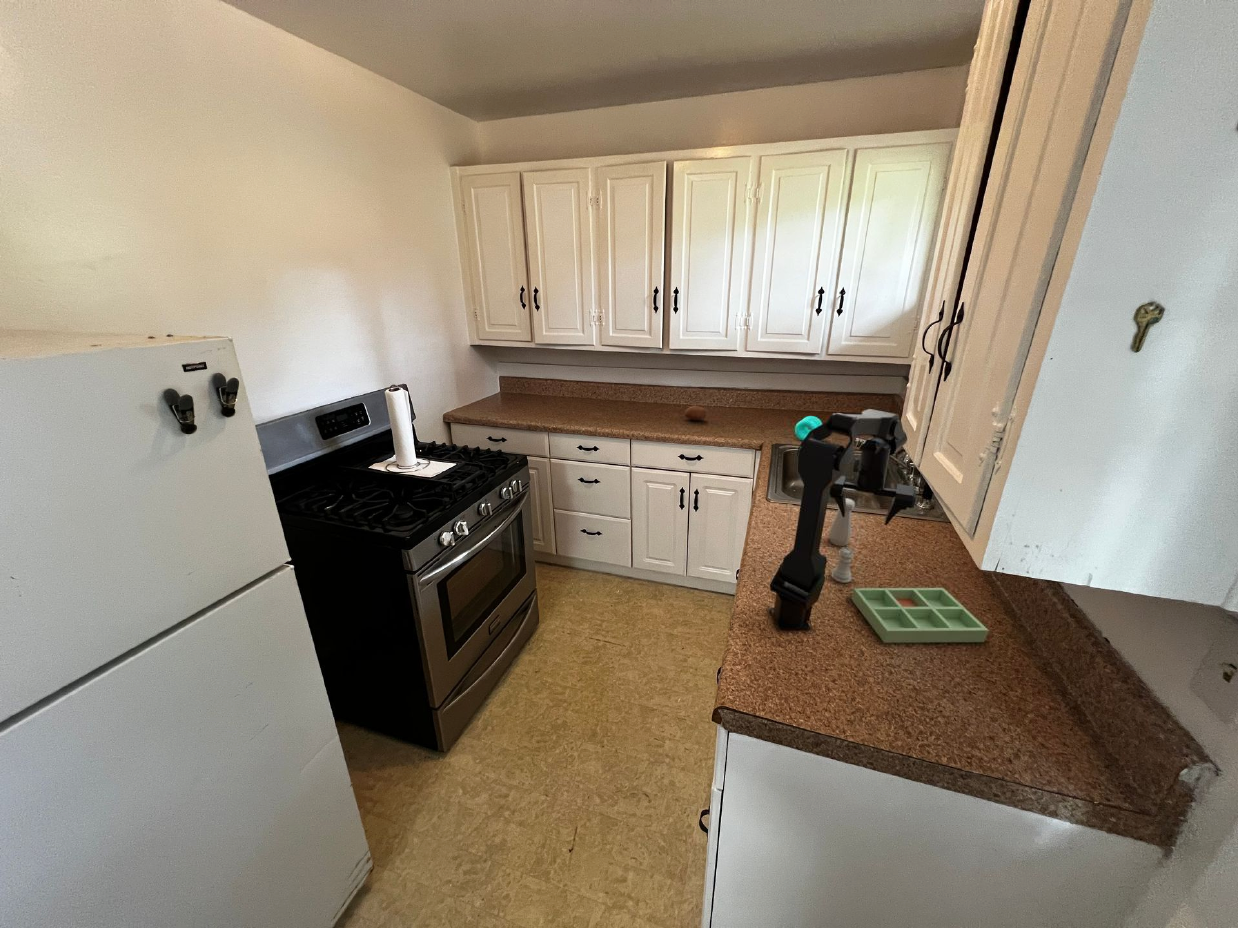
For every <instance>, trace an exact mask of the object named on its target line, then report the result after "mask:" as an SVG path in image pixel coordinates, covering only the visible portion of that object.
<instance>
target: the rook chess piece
mask: <svg viewBox="0 0 1238 928" xmlns="http://www.w3.org/2000/svg"><path fill="white" fill-rule="evenodd" d="M838 554H839V556H838V562H837V565H836V566H835V568H833V569H832V571H831V572H832V573H831V574H830V575H831V578H832V579H833V580H834V581H835V582H837V583H841V584H847V583H849V582H851V581H852V575H853V574H852V572H851V568H850V565H851V562H852V558H853V557H854V556H855V555H854V552H853V549H852V548H849V547H845V546H842V547H841V548H840V550H839V551H838Z"/></svg>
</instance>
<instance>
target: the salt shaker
mask: <svg viewBox="0 0 1238 928" xmlns="http://www.w3.org/2000/svg"><path fill="white" fill-rule="evenodd" d="M836 506H837V508H838V509H837V511H836V514H835V516H834V518H833V521H832V523H831V525H830V527H829V530H828V532H827V535H828V537H829V541H830V544H832V545H834V546H837V547H845V546H846V545H847V544H848V543H849V542H850V540H851V538H852V511H854V509H855V506H856V503H855V501H854V500H853V499H851V498H846V512H845V517H842V514H841V511H840V509H839V506H838V504H837V503H836Z"/></svg>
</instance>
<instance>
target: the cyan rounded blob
mask: <svg viewBox="0 0 1238 928" xmlns="http://www.w3.org/2000/svg"><path fill="white" fill-rule="evenodd" d="M822 424H823V423H822V421H821V419H820V418H818V417H817V416H814V415H808V416H805V417H804V418H803V419H802V420H800V421H798V422H797V423H796V424H795V427H794V433H795V436H796V437H797V438H798V439H799V440H800V441H801V442H803V440H804V439H805V438H806V436H807V435H808V433H809V432H810V431H811V430H813V429H815V428H816V427H818V426H820V425H822Z"/></svg>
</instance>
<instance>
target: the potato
mask: <svg viewBox="0 0 1238 928" xmlns="http://www.w3.org/2000/svg"><path fill="white" fill-rule="evenodd" d="M684 416H685V418H686V419H688V420H692V421H694V422H700V421H703V420H704V419H705V418H706V417H707V410H706V409H705V408H704V407H701V406H698V405H692V406H690V407H688V408H687V409H686V410H685V412H684Z"/></svg>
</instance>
